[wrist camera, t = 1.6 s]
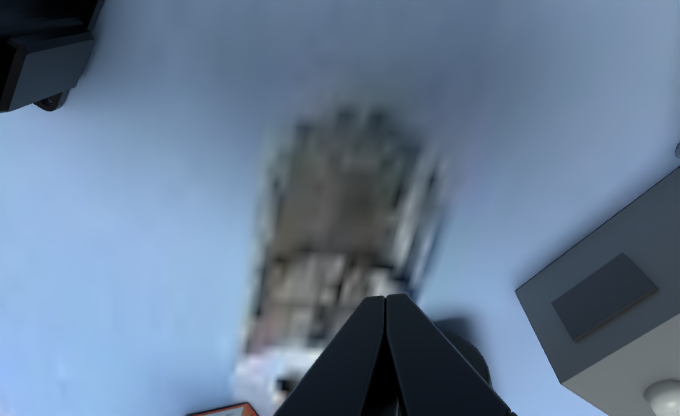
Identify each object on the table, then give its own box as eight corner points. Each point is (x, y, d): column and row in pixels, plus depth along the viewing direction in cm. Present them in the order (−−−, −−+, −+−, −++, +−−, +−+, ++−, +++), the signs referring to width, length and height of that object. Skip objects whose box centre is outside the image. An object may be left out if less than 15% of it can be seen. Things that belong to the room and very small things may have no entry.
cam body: (512, 289, 23) (565, 399, 17) (681, 160, 18) (832, 246, 13) (576, 335, 24) (646, 450, 18) (746, 226, 20) (908, 329, 14)
